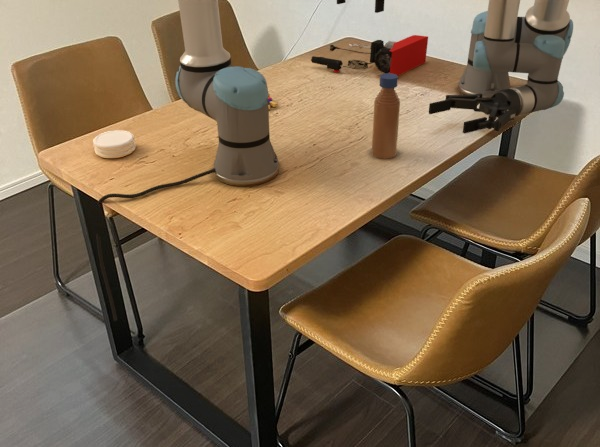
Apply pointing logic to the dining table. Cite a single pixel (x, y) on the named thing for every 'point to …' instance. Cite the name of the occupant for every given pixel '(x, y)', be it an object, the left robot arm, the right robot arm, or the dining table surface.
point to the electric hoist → (385, 55)
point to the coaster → (114, 144)
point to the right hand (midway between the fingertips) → (446, 118)
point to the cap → (388, 80)
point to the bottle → (385, 124)
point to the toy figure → (271, 102)
